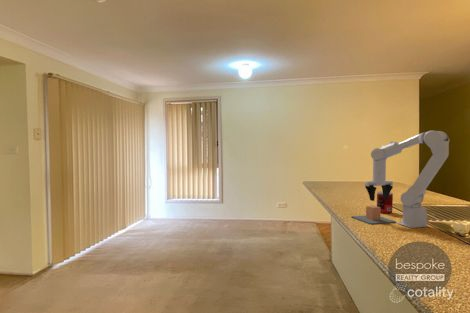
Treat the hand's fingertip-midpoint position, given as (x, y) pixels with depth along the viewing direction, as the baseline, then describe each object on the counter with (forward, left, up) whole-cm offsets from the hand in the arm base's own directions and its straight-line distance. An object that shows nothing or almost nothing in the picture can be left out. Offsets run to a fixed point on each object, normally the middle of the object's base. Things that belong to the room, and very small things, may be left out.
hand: (378, 200), depth 148 cm
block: (+4, +1, -9) cm, 10 cm away
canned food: (-14, -12, -10) cm, 21 cm away
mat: (+4, +1, -9) cm, 10 cm away
